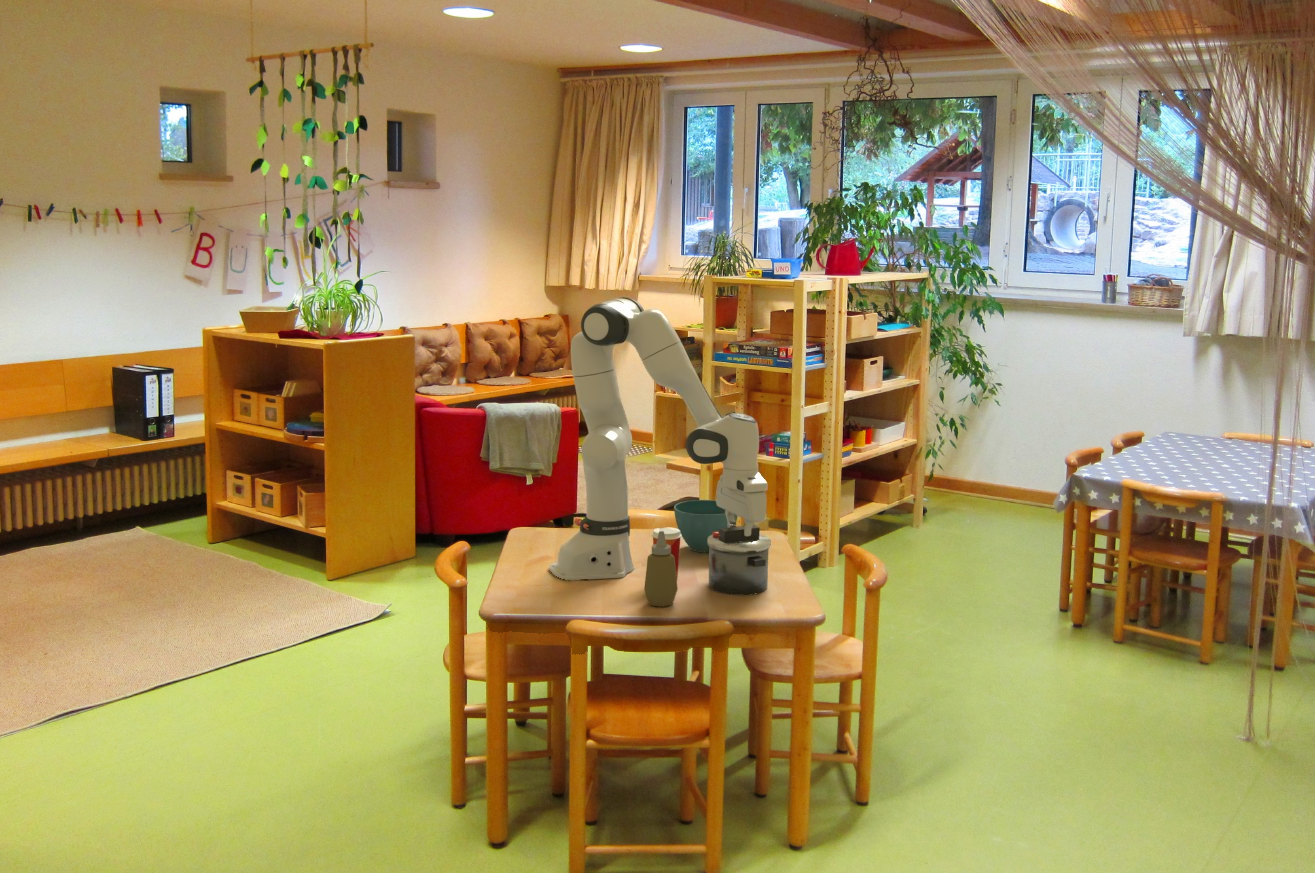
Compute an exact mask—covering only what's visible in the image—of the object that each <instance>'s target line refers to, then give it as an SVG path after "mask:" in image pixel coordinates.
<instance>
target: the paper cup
mask: <svg viewBox="0 0 1315 873" xmlns="http://www.w3.org/2000/svg"><path fill="white" fill-rule="evenodd" d="M659 531H664V535H665V539H666V544H667V545H670V546H671V553H670V554H672V555H673V556H674V557H675V566H676V577H677V579H678V577H679V576H678V575H679V564H680V562H679V561H680V549H681V538H683V537H682V535H681V534H680V530H679V529H678V527H677V528H676V527H667V526H666V527H659V528H658V527H656V528H654V529H653V532H652V534H651V537H652V544H653V545H655V544H656V543H657V538H658V534H659ZM653 545H652V546H653Z"/></svg>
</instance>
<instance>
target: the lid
mask: <svg viewBox="0 0 1315 873" xmlns="http://www.w3.org/2000/svg"><path fill="white" fill-rule="evenodd" d="M744 526H745V525H741V526H736V527H729V528H720V529H719V532H713V535H710V536H709V537H708V546H709V547H711V548H713V549H716V550H719V551H724V552H731V553H753V552H760V551H764V550H766V549H768V548H769V549H770V548H771V547H772V546H771V545H772V541H771V538H770V537H768V536H767V535H764V534H761V533H760V528H761V527H759V526H757V525H755V524H754V525H753V527H752V529H751V535H750V536H745V535H743V534H742V528H744Z"/></svg>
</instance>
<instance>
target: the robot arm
mask: <svg viewBox="0 0 1315 873" xmlns="http://www.w3.org/2000/svg"><path fill="white" fill-rule="evenodd" d="M580 329H581V331H580V332H578V333H576V334H575V335H574V336H573V337H572V338H571V342H570V360H571V362H570V364H571V371H572V377H573V383H574V388H575V392H576V398H577V404H578V407H579V409H580V410H581V412H582V415H583V418H584V421H585V424H586V428H587V432H588V434H587V435H586V436H585V437H584V439H583V441H582V445H581V458H582V464H583V465H582V466H583V473H584V480H585V488H586V515H585V516H584V518H583V519H581V518H580V517H578V516H576V517H574V518H573V523H574V525H576V526H578V527H579V531H578V532H577V533H575V534H574V535H573V536H572V537H571V538H569V539H568V540H567V541H566V542H564V543H563V544H562V545H561V546H560V548H559V551H558V556H557V561H556V562H553V563H552V562H551V563H550V564H549V568H548V570H550V571H551V572H552V573H553V574H554V575H555V576H554V575H553V574H552V573H551V572H550V571H549V572H550V573H551V574H552V575H553V576H554V577H556V576H557V577H556V578H558V577H559V578H558V579H560V578H561V580H563V579H565V580H564V581H568V580H571V581H581V580H580V579H588V580H601V579H602V580H604V579H616V578H618V579H620V578H623V577H625V576H626V575H627V574H628V573H630V572H631V571H633V570H634V569H635V566H634V562H633V559H632V558H633V557H632V555H631V554H632V553H631V548H630V538H629V537H630V534H631V533H630V532H631V523H630V522H631V520H630V519H631V518H630V516H629V485H628V481H627V474H626V473H627V472H626V457H627V455H629V452H631V449H632V446H633V435H632V432H631V430H630V424H629V421H628V418H627V414H626V411H625V409H624V408H625V407H624V405H623V402H622V398H621V394H620V388H619V383H618V378H617V373H616V367H615V362H614V361H615V360H614V356H613V352H614V351H613V350H614V348H615V346H616V345H620V344H621V345H622V344H623V343H624V342H627V343H630V344H631V345H632V346H633V347H634V348H635V350H636V352H637V354H638V357H639V358H640V360H641V361H642V364H643V366H644V369H645V370H646V372H647V373H648V375H649V376H650V378H651V379H652V380H653V381H654V383H655V384H657V385H659V386H662V388H663V387H664V388H666V389H669V390H672V391H673V392H675V393H676V394H678V396H680V397H681V399H682V400H683V402H684V403H685V405H686V407H687V408H688V410H689V412H690V413H691V415H692V417H693V419H694V421H695V423H696V425H697V427H696V428H695V429H693V430H692V431H691V432H690V433H689V434H688V436H687V437H686V441H685V450H686V452H687V455H688V457H689V458H690V459H691V461H694V462H696V463H697V464H700V465H701V464H702V465H708V464H716V463H722V472H721V475H720V476H719V480H718V481H717V485H716V489H715V490H716V491H715V492H716V493H715V500H716V504H717V506H718V507H720V508H722V509H725V514H726V518H727V521H728V524H727V526H728V527H737V522H736V521H735V518H734V514H735V515H737V516H738V517H739V518H741V519H743V520H744V521H743V522H744V525H743V526H744V528H742V534H743V535H745V536H750V535H751V529H752V527H753V525H755V524H756V523H762V522H764V521H765V520H766V518H767V494H766V492H767V491H768V489H769V484H768V482H767V481H766V479H764V477H763V476H762V475H761V473H760V472H759V463H758V454H759V450H760V431H759V426H758V422H757V420H756V419H755V418H754V417H752V416H750V415H748V414H745V413H736V412H731V413H729V414H727V415H726V416H723V415H722V414H721V413H720V412H719V410H718V408H717V406H716V405H715V404H714V402H713V400H712V398H711V396H710V394H709V393H708V391H707V389H706V388H705V386H704V384H703V383H702V381H701V379H700V378H699V375H698V374H697V371H696V369H695V368H694V366H693V364H692V362H691V360H690V358H689V356H688V353H687V351H686V349H685V347H684V344H683V343H682V340H681V339H680V337H679V335H678V333H677V332H676V330H675V328H674V326H673V325H672V324H671V322H670V321H669V319H668V318H667V317H666V315H665V314H663V312H662V311H660V310H658V309H656V308H654V309H653V308H651V309H646V310H644V308H643V306H642V305H641V304H640V302H638V301H636V300H635V299H633V298H630V297H618V298H612V299H611V298H610V299H606V300H605V301H603V302H601V303H596V304H594V305H592V306H590V307H589V308H587V310H586V311H585V312H584V313H583V315H582V317H581V321H580Z"/></svg>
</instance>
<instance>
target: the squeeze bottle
mask: <svg viewBox="0 0 1315 873" xmlns="http://www.w3.org/2000/svg"><path fill="white" fill-rule="evenodd" d="M670 553H671V546H670V545H667V544H666V539H665V535H664V531H659V534H658V538H657V543H656V544H655V545H652V546H651V553H650V554H648V556H647V561H646V568H645V569H646V570H645V578H644V579H645V580H644V588H643V590H644V592H645V595H646V599H647V601H648V604H649V605H650V606H653V607H668V606H669V607H670V606H671V605H673V603H674V601H675V597H676V595H677V591H678V578H677V577H676V566H675V557H674V556H673V555H672V554H670Z"/></svg>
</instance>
